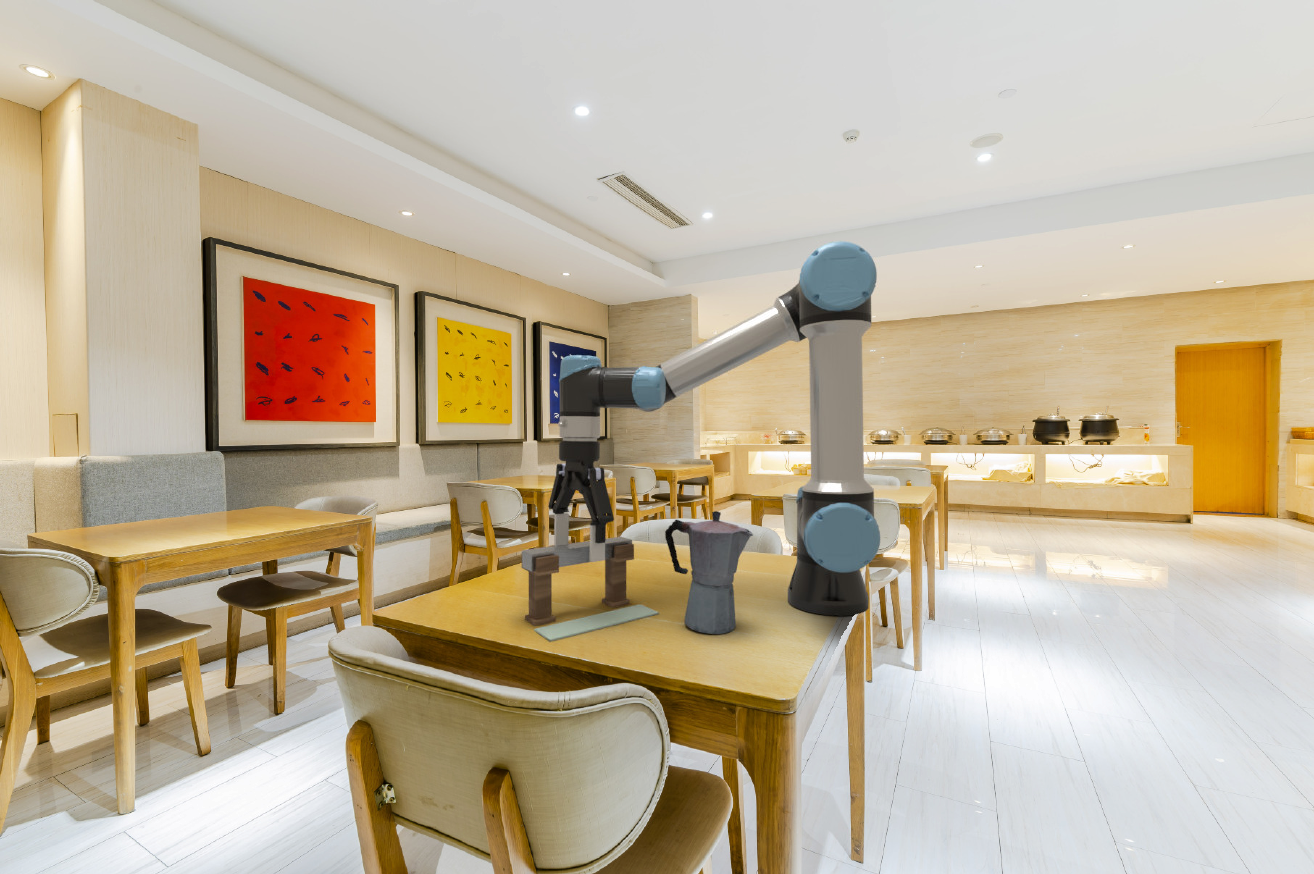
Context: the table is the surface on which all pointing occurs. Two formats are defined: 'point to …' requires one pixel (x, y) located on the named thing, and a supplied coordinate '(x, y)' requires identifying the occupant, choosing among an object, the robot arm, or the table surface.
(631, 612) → the green mat
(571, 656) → the table surface
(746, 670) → the table surface
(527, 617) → the walnut standards
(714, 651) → the table surface
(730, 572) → the moka pot
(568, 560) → the steel bar
